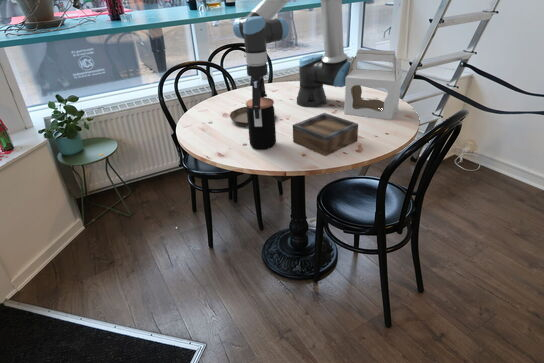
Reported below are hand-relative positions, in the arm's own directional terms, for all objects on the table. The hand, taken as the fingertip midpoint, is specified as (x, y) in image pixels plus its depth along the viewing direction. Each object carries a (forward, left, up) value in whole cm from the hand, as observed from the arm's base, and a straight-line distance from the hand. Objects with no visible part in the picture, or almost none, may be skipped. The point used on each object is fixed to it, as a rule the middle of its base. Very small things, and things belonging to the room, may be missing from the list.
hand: (260, 119), depth 145 cm
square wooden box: (-19, +16, -11) cm, 27 cm away
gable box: (-58, +9, -11) cm, 60 cm away
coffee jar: (0, 0, -11) cm, 11 cm away
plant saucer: (-14, -26, -11) cm, 32 cm away
